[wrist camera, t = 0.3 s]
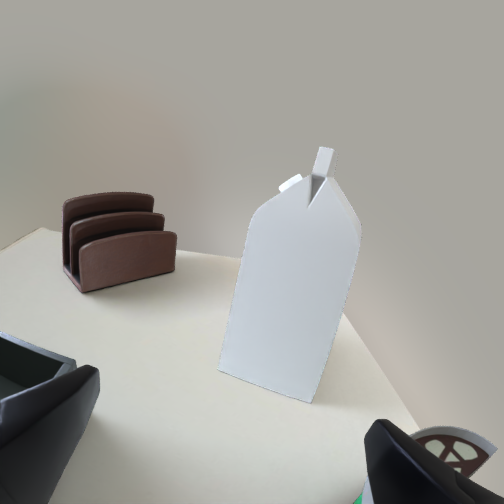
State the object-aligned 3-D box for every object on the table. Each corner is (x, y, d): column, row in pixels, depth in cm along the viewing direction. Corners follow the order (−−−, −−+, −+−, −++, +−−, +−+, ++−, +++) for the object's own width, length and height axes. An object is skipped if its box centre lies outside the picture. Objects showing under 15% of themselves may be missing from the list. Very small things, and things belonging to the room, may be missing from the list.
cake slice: (401, 470, 21) (456, 402, 17) (432, 509, 15) (500, 445, 12) (291, 515, 16) (340, 455, 13) (321, 570, 11) (393, 533, 8)
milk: (311, 403, 30) (389, 160, 22) (217, 369, 33) (259, 132, 25) (326, 349, 41) (379, 166, 33) (252, 325, 44) (290, 145, 36)
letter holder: (62, 270, 47) (61, 194, 42) (147, 254, 62) (153, 189, 58) (81, 294, 41) (80, 206, 37) (175, 272, 57) (183, 199, 53)
